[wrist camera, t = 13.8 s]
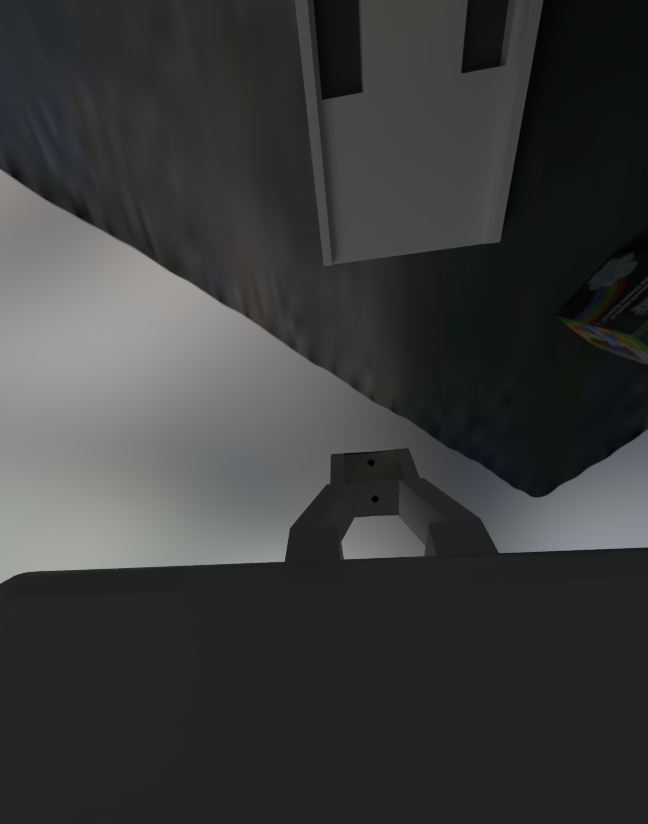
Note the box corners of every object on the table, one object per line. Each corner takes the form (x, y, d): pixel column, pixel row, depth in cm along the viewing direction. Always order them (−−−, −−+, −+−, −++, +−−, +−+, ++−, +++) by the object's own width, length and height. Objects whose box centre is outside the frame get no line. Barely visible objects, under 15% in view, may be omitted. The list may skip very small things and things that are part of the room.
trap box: (486, 242, 33) (507, 241, 29) (324, 264, 35) (323, 266, 31) (609, -536, 15) (709, -817, 11) (252, -409, 16) (227, -613, 12)
